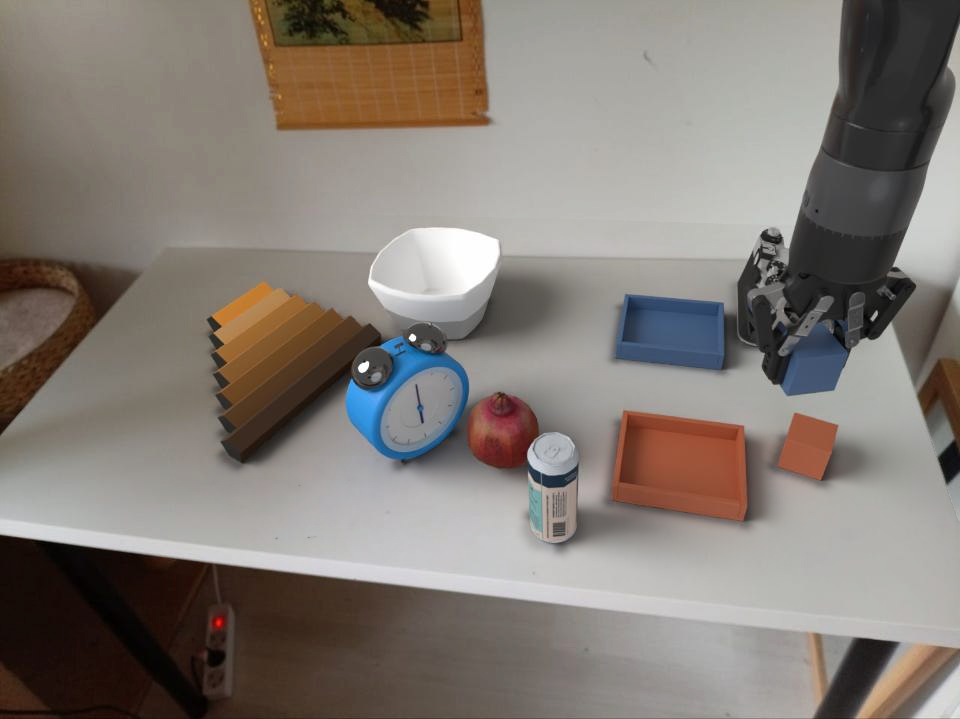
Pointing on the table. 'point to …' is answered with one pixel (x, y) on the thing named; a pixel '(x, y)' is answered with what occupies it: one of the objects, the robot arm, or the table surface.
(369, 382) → the alarm clock
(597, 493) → the table surface
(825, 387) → the blue block
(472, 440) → the fruit
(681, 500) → the terracotta tray
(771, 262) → the camera
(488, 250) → the bowl
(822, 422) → the terracotta block
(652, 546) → the table surface
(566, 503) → the beer can
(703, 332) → the blue tray
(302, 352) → the pan flute
